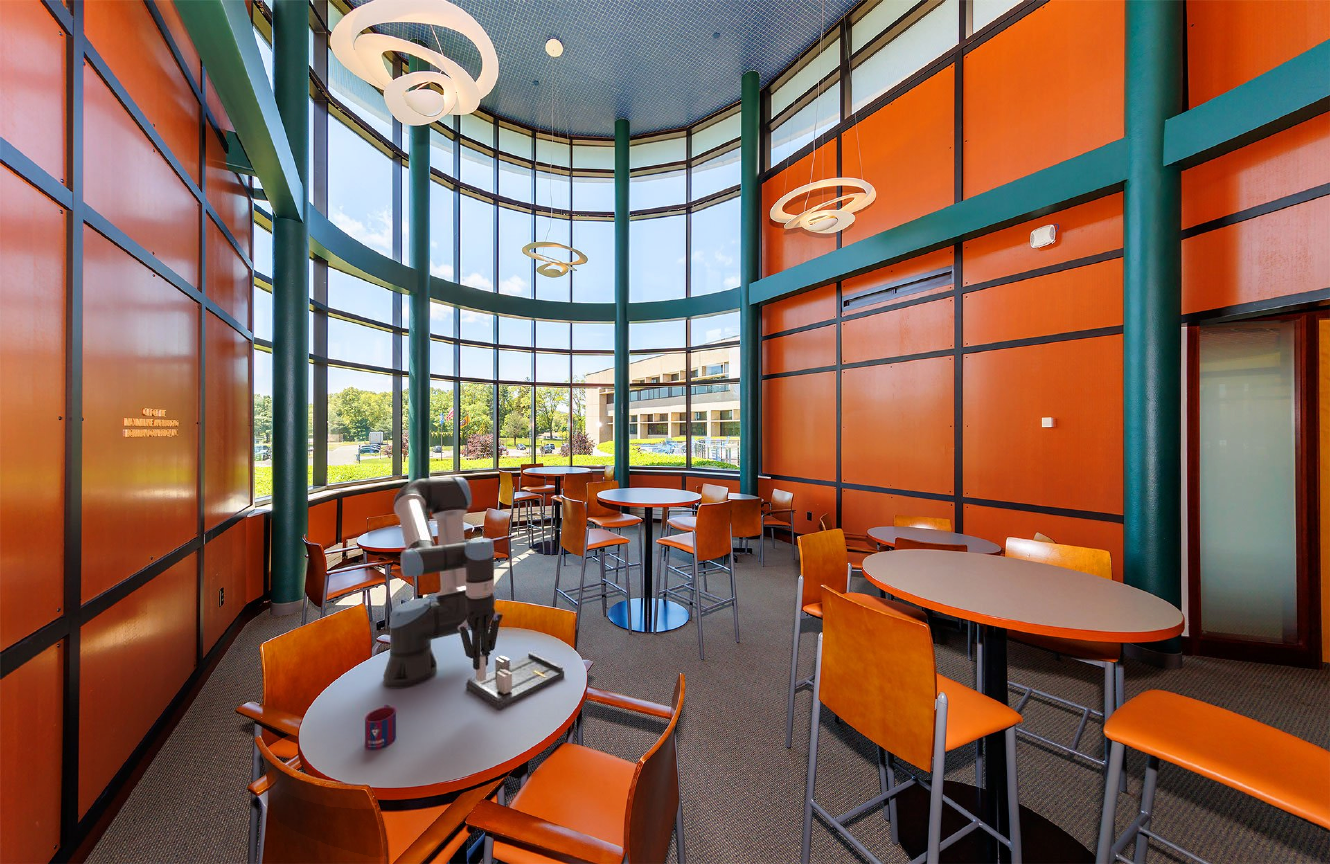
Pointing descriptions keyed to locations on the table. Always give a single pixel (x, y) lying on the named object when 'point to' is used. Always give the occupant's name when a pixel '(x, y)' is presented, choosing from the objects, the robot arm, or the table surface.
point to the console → (516, 680)
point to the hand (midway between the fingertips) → (480, 678)
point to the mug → (380, 728)
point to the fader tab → (504, 681)
